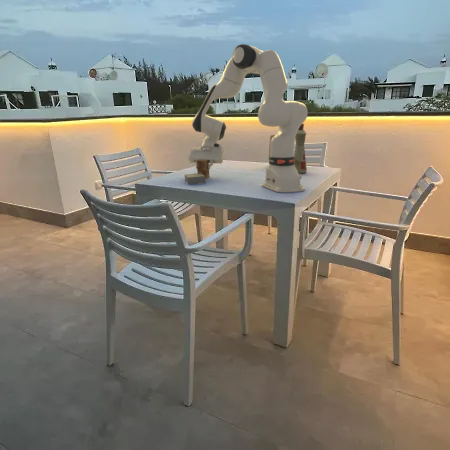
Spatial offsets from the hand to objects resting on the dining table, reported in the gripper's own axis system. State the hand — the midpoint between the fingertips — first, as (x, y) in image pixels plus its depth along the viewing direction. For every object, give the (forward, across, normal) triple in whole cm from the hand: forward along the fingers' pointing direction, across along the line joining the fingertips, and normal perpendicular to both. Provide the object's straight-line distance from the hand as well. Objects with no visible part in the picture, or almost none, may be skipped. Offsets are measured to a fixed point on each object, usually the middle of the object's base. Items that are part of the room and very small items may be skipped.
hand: (202, 168), depth 182 cm
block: (-29, +33, +37) cm, 57 cm away
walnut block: (+3, 0, +4) cm, 5 cm away
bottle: (-16, +49, +24) cm, 57 cm away
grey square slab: (+12, 0, -4) cm, 12 cm away
